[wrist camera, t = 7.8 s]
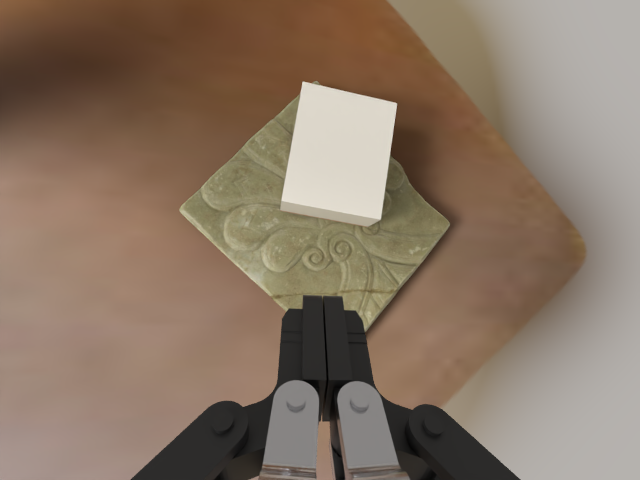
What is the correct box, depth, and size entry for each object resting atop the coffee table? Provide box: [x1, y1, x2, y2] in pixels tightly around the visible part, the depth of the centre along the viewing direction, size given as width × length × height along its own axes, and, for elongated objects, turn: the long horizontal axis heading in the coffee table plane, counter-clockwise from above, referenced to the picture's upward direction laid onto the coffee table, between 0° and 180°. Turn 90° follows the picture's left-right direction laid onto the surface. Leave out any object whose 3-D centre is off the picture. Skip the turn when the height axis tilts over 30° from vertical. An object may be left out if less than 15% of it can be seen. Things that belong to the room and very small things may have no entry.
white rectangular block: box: [280, 82, 397, 227], centre depth 30 cm, size 8×4×10 cm
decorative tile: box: [180, 81, 450, 332], centre depth 34 cm, size 19×20×4 cm
